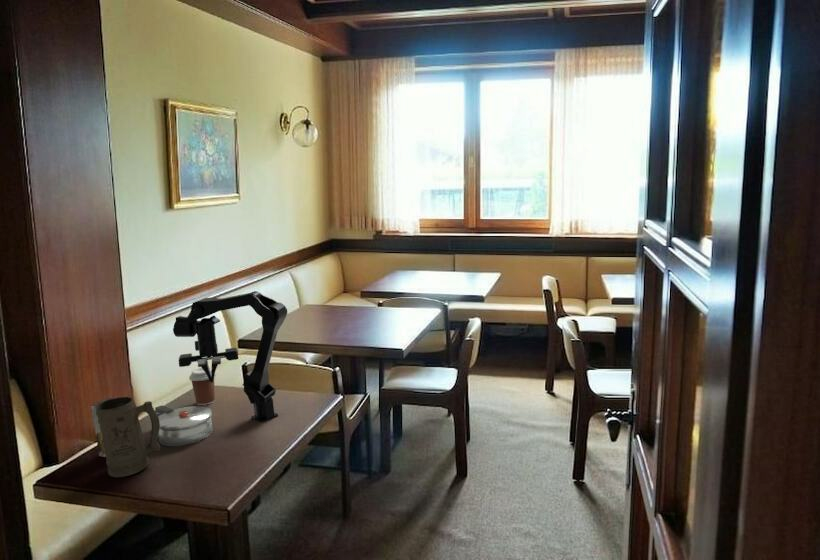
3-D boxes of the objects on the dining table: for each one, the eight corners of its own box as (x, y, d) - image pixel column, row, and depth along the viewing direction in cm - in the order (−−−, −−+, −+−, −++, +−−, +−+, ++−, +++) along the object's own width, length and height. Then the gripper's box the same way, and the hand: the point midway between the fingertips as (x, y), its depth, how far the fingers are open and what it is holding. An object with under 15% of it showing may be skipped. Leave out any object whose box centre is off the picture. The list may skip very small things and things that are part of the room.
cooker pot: (222, 431, 202) (221, 416, 202) (177, 450, 190) (175, 434, 189) (183, 417, 217) (181, 403, 216) (138, 434, 204) (136, 419, 204)
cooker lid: (222, 416, 202) (221, 408, 201) (174, 434, 189) (173, 426, 189) (181, 402, 216) (180, 395, 216) (134, 419, 204) (133, 411, 203)
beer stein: (106, 482, 172) (95, 412, 169) (104, 467, 182) (94, 400, 178) (166, 467, 179) (157, 399, 176) (162, 454, 189) (153, 389, 185)
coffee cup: (206, 408, 225) (202, 375, 223) (186, 405, 228) (182, 373, 226) (224, 399, 233) (220, 367, 231) (205, 396, 237) (201, 365, 235)
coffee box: (137, 451, 192) (130, 399, 189) (120, 460, 186) (112, 407, 183) (115, 447, 196) (108, 396, 193) (97, 456, 190) (89, 404, 187)
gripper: (235, 327, 222) (240, 371, 225) (178, 334, 217) (183, 378, 220) (235, 335, 211) (240, 380, 214) (176, 342, 207) (181, 388, 209)
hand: (211, 381), depth 215 cm, fingers closed
